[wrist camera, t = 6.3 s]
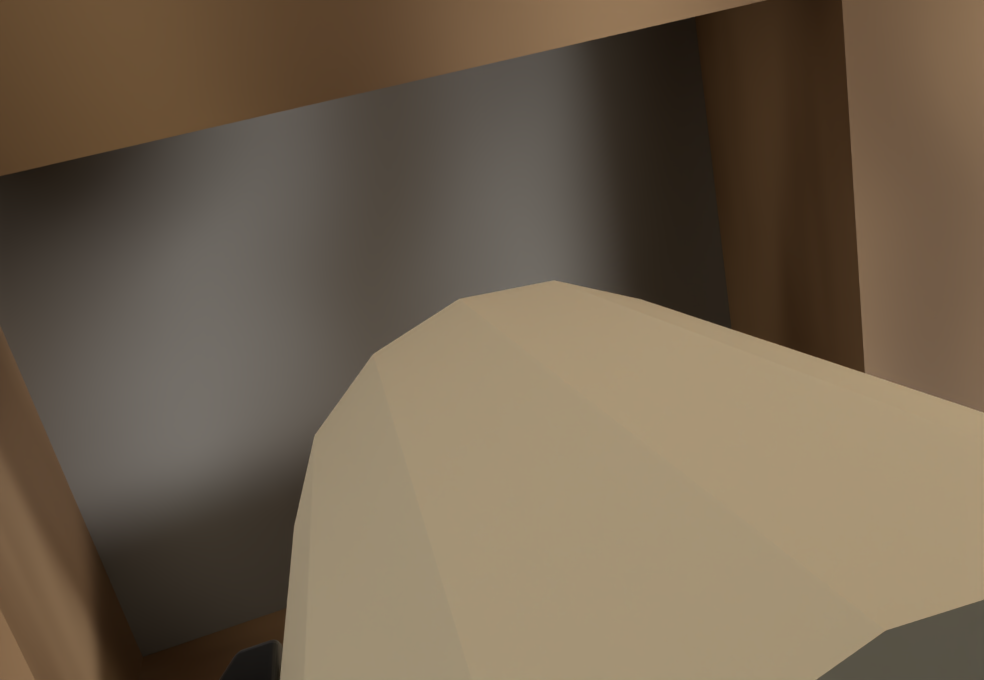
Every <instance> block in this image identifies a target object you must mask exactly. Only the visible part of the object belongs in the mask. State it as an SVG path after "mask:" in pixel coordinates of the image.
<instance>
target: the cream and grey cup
mask: <svg viewBox="0 0 984 680" xmlns="http://www.w3.org/2000/svg"><path fill="white" fill-rule="evenodd" d="M280 680H984V412H981V411H978V410H974V409H971V408H968V407H965V406H962V405H959V404H956V403H953V402H950V401H947V400H944V399H941V398H938V397H935V396H932V395H929V394H926V393H923V392H920V391H917V390H914V389H911V388H908V387H905V386H902V385H899V384H896V383H893V382H890V381H887V380H884V379H881V378H878V377H875V376H872V375H868V374H865V373H862V372H859V371H856V370H853V369H850V368H847V367H844V366H841V365H838V364H835V363H832V362H829V361H826V360H823V359H820V358H817V357H814V356H811V355H808V354H805V353H802V352H799V351H796V350H793V349H790V348H787V347H784V346H781V345H778V344H775V343H772V342H769V341H766V340H763V339H759V338H756V337H753V336H750V335H747V334H744V333H741V332H738V331H735V330H732V329H729V328H726V327H723V326H720V325H717V324H714V323H711V322H708V321H705V320H702V319H699V318H696V317H693V316H690V315H687V314H684V313H681V312H678V311H675V310H672V309H669V308H666V307H663V306H660V305H657V304H654V303H650V302H647V301H644V300H641V299H637V298H633V297H628V296H623V295H619V294H614V293H610V292H605V291H601V290H596V289H591V288H587V287H582V286H578V285H573V284H569V283H564V282H559V281H555V280H553V281H548V282H543V283H538V284H533V285H528V286H523V287H517V288H512V289H507V290H502V291H497V292H492V293H487V294H481V295H476V296H471V297H466V298H461V299H458V300H456V301H455V302H453V303H452V304H450V305H449V306H447V307H445V308H444V309H442V310H441V311H439V312H438V313H436V314H435V315H433V316H431V317H430V318H428V319H427V320H425V321H424V322H422V323H421V324H419V325H417V326H416V327H414V328H413V329H411V330H410V331H408V332H407V333H405V334H403V335H402V336H400V337H399V338H397V339H396V340H394V341H393V342H391V343H389V344H388V345H386V346H385V347H383V348H382V349H380V350H379V351H377V352H375V353H374V354H373V355H372V356H371V358H370V359H369V360H368V362H367V363H366V365H365V366H364V367H363V369H362V370H361V371H360V373H359V374H358V376H357V377H356V378H355V380H354V381H353V383H352V384H351V385H350V387H349V388H348V390H347V391H346V392H345V394H344V395H343V396H342V398H341V399H340V401H339V402H338V403H337V405H336V406H335V408H334V409H333V410H332V412H331V413H330V415H329V416H328V417H327V419H326V420H325V421H324V423H323V424H322V426H321V427H320V428H319V430H318V431H317V433H316V434H315V436H314V440H313V444H312V449H311V453H310V458H309V462H308V467H307V471H306V476H305V480H304V484H303V489H302V493H301V498H300V502H299V507H298V511H297V516H296V520H295V524H294V533H293V544H292V554H291V565H290V576H289V587H288V597H287V608H286V619H285V630H284V641H283V651H282V662H281V673H280Z"/></svg>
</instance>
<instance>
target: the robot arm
mask: <svg viewBox="0 0 984 680" xmlns="http://www.w3.org/2000/svg"><path fill="white" fill-rule="evenodd" d="M282 651H283V646H282V644H281V643H280V642H279V641H278V640H275V639H274V640H269V641H266V642H263V643H260V644H258V645H255V646H252V647H249V648H246V649H243V650H241V651H239V652H238V653H237V654H236V655H235V656H234V657H233V659H232V660H231V662H230V663H229V665H228V667H227V668H226V670H225V671H224V673H223V674H222V676H221V677H220V679H219V680H280V673H281V662H282Z"/></svg>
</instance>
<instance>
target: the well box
mask: <svg viewBox="0 0 984 680" xmlns="http://www.w3.org/2000/svg"><path fill="white" fill-rule="evenodd" d="M553 280H555V281H559V282H564V283H569V284H573V285H578V286H582V287H587V288H591V289H596V290H601V291H605V292H610V293H614V294H619V295H623V296H628V297H633V298H637V299H641V300H644V301H647V302H650V303H654V304H657V305H660V306H663V307H666V308H669V309H672V310H675V311H678V312H681V313H684V314H687V315H690V316H693V317H696V318H699V319H702V320H705V321H708V322H711V323H714V324H717V325H720V326H723V327H726V328H729V329H732V330H735V331H738V332H741V333H744V334H747V335H750V336H753V337H756V338H759V339H763V340H766V341H769V342H772V343H775V344H778V345H781V346H784V347H787V348H790V349H793V350H796V351H799V352H802V353H805V354H808V355H811V356H814V357H817V358H820V359H823V360H826V361H829V362H832V363H835V364H838V365H841V366H844V367H847V368H850V369H853V370H856V371H859V372H862V373H865V374H868V375H872V376H875V377H878V378H881V379H884V380H887V381H890V382H893V383H896V384H899V385H902V386H905V387H908V388H911V389H914V390H917V391H920V392H923V393H926V394H929V395H932V396H935V397H938V398H941V399H944V400H947V401H950V402H953V403H956V404H959V405H962V406H965V407H968V408H971V409H974V410H978V411H981V412H984V0H0V680H219V679H220V677H221V676H222V674H223V673H224V671H225V670H226V668H227V667H228V665H229V663H230V662H231V660H232V659H233V657H234V656H235V655H236V654H237V653H238V652H239V651H241V650H243V649H246V648H249V647H252V646H255V645H258V644H260V643H263V642H266V641H269V640H274V639H275V640H278V641H279V642H280V643H281V644H282V646H283V641H284V630H285V619H286V608H287V597H288V587H289V576H290V565H291V554H292V544H293V533H294V524H295V520H296V516H297V511H298V507H299V502H300V498H301V493H302V489H303V484H304V480H305V476H306V471H307V467H308V462H309V458H310V453H311V449H312V444H313V440H314V436H315V434H316V433H317V431H318V430H319V428H320V427H321V426H322V424H323V423H324V421H325V420H326V419H327V417H328V416H329V415H330V413H331V412H332V410H333V409H334V408H335V406H336V405H337V403H338V402H339V401H340V399H341V398H342V396H343V395H344V394H345V392H346V391H347V390H348V388H349V387H350V385H351V384H352V383H353V381H354V380H355V378H356V377H357V376H358V374H359V373H360V371H361V370H362V369H363V367H364V366H365V365H366V363H367V362H368V360H369V359H370V358H371V356H372V355H373V354H374V353H375V352H377V351H379V350H380V349H382V348H383V347H385V346H386V345H388V344H389V343H391V342H393V341H394V340H396V339H397V338H399V337H400V336H402V335H403V334H405V333H407V332H408V331H410V330H411V329H413V328H414V327H416V326H417V325H419V324H421V323H422V322H424V321H425V320H427V319H428V318H430V317H431V316H433V315H435V314H436V313H438V312H439V311H441V310H442V309H444V308H445V307H447V306H449V305H450V304H452V303H453V302H455V301H456V300H458V299H461V298H466V297H471V296H476V295H481V294H487V293H492V292H497V291H502V290H507V289H512V288H517V287H523V286H528V285H533V284H538V283H543V282H548V281H553Z"/></svg>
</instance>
